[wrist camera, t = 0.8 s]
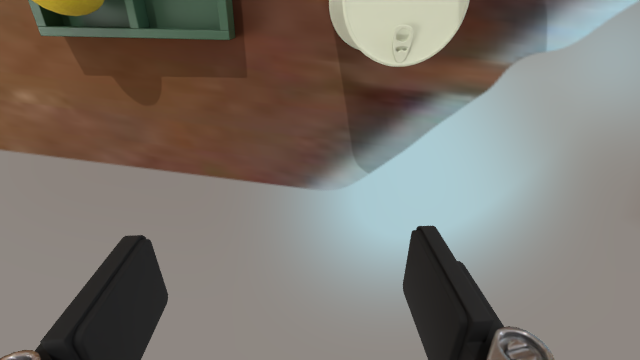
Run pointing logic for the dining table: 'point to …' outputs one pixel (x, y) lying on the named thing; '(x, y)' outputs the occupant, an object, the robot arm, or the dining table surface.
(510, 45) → the dining table surface
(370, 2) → the can
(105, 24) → the holder
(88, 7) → the lemon
